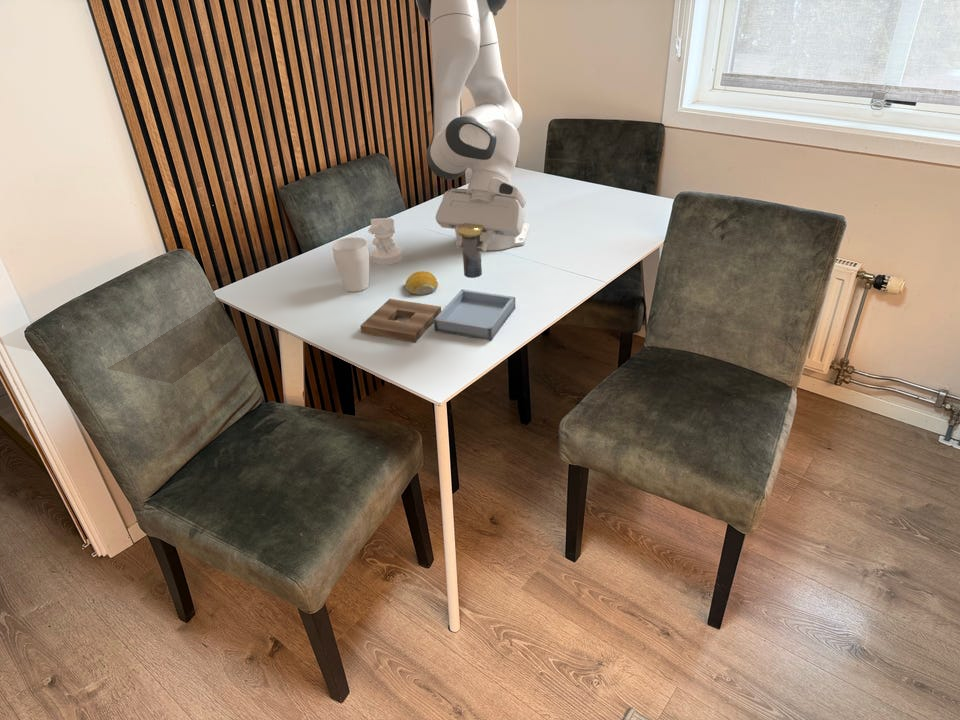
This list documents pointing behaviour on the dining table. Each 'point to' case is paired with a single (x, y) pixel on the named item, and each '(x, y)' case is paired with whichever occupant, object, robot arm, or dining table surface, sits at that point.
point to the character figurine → (384, 242)
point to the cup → (352, 263)
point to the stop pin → (471, 248)
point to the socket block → (406, 331)
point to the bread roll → (421, 283)
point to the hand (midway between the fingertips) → (470, 248)
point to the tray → (475, 314)
